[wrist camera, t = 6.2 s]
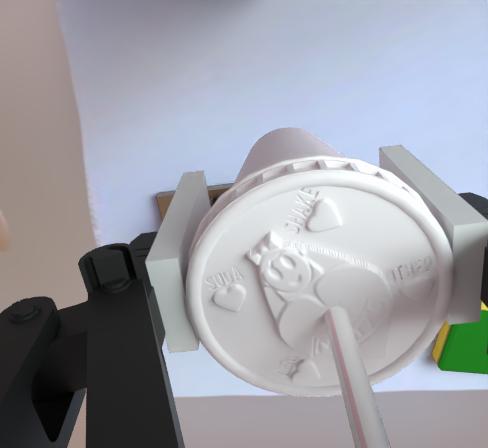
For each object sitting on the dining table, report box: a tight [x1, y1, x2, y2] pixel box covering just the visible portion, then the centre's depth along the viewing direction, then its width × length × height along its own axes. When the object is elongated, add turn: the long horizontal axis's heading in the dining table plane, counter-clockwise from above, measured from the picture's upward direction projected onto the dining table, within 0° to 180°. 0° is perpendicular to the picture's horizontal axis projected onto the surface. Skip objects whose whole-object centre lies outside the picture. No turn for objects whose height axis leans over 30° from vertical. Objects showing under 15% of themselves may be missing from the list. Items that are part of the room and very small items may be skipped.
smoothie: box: [186, 128, 455, 448], centre depth 13 cm, size 6×6×14 cm
